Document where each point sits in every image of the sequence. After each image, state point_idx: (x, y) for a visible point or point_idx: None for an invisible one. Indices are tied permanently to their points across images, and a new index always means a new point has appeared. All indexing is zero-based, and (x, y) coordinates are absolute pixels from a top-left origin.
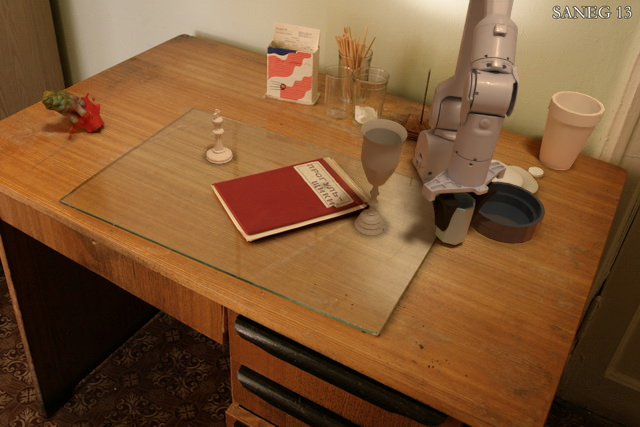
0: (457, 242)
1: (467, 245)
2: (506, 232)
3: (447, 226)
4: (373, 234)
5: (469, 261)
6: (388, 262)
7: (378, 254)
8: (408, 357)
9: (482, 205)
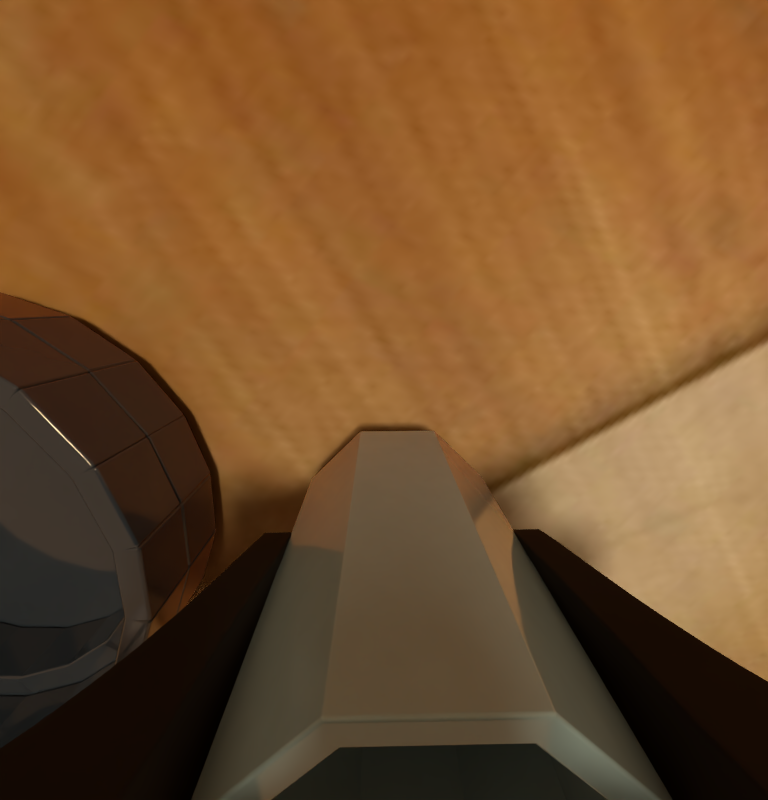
0: (421, 434)
1: (321, 420)
2: (52, 358)
3: (548, 552)
4: None
5: (394, 318)
6: (751, 483)
7: (746, 540)
8: None
9: (114, 669)
